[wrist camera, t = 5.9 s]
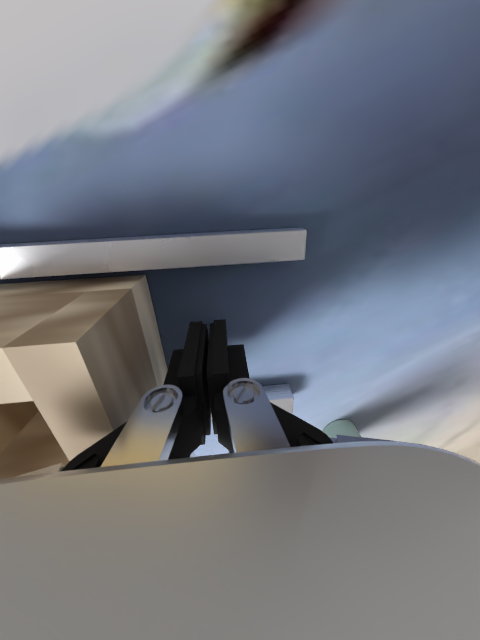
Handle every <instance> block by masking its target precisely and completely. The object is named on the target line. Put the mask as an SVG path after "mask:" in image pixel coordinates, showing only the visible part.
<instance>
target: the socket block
mask: <svg viewBox="0 0 480 640" xmlns="http://www.w3.org/2000/svg"><path fill="white" fill-rule="evenodd" d="M167 371H168V369H167V365H166V360H165V356H164V352H163V347H162V343H161V339H160V334H159V330H158V326H157V321H156V317H155V313H154V308H153V304H152V300H151V295H150V291H149V287H148V282H147V278H146V275H132V276H117V277H101V278H86V279H71V280H55V281H40V282H24V283H9V284H0V479H5V478H12V477H16V476H19V475H22V474H26V473H29V472H33V471H36V470H39V469H43V468H46V467H49V466H53V465H56V464H59V463H62V464H63V466H66V465H67V464H68V463H69V461H71V460H72V459H73V458H74V457H76V456H77V455H78V454H80V453H81V452H83V451H84V450H85V449H87V448H88V447H90V446H91V445H93V444H94V443H96V442H97V441H99V440H100V439H102V438H103V437H105V436H106V435H108V434H109V433H111V432H112V431H114V430H115V429H116V428H118V427H119V426H121V425H122V424H124V423H125V422H127V421H128V419H129V418H130V416H131V414H132V413H133V411H134V409H135V408H136V406H137V404H138V403H139V401H140V399H141V398H142V397H143V395H144V394H145V393H147V392H148V391H149V390H151V389H153V388H155V387H157V386H161V385H163V384H164V381H165V377H166V374H167Z"/></svg>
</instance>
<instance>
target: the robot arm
mask: <svg viewBox="0 0 480 640" xmlns="http://www.w3.org/2000/svg"><path fill="white" fill-rule="evenodd" d="M211 414H212V422H213V429H214V434H218V441H219V443H220V444H222V445H223V446H224V447H225V448H227V449H228V450H229V453H228V454H219V455H209V456H199V457H194V450H195V449H197V448H198V447H199V446H200V445H203V444H205V435H210V430H211ZM0 640H480V463H478V462H476V461H474V460H472V459H470V458H467V457H464V456H462V455H459V454H456V453H453V452H450V451H447V450H443V449H439V448H435V447H430V446H426V445H422V444H415V443H407V442H398V441H390V440H381V439H372V438H363V437H354V436H345V435H336V438H331V437H328V435H327V434H325V433H324V432H322V431H321V430H319V429H318V428H316V427H314V426H312V425H310V424H309V423H307V422H305V421H303V420H302V419H300V418H298V417H296V416H294V415H293V414H291V413H289V412H287V411H285V410H284V409H282V408H280V407H278V406H277V405H275V404H273V403H271V402H270V401H269V399H268V397H267V395H266V393H265V390H264V388H263V387H262V385H261V384H260V383H259V382H257V381H256V380H253V379H249V373H248V368H247V362H246V356H245V351H244V345H230V346H227V334H226V321H225V320H214V323H213V324H210V330H209V339H208V330H207V324H203V323H202V321H200V322H190V325H189V329H188V334H187V338H186V342H185V346H184V349H179V350H174V351H173V354H172V358H171V361H170V364H169V367H168V371H167V374H166V377H165V381H164V384H163V385H161V386H157V387H155V388H153V389H151V390H149V391H148V392H147V393H145V394H144V395H143V397H142V398H141V399H140V401H139V403H138V404H137V406H136V408H135V409H134V411H133V413H132V414H131V416H130V418H129V419H128V421H127V422H125V423H124V424H122V425H121V426H119V427H118V428H116V429H115V430H114V431H112V432H111V433H109V434H108V435H106V436H105V437H103V438H102V439H100V440H99V441H97V442H96V443H94V444H93V445H91V446H90V447H88V448H87V449H85V450H84V451H83V452H81V453H80V454H78V455H77V456H76V457H74V458H73V459H72V460H71V461H69V463H68V464H67V465H66V466H63V464H62V463H59V464H56V465H53V466H49V467H46V468H43V469H39V470H36V471H33V472H29V473H26V474H22V475H19V476H16V477H12V478H5V479H0Z"/></svg>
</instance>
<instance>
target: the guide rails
mask: <svg viewBox="0 0 480 640" xmlns="http://www.w3.org/2000/svg"><path fill="white" fill-rule="evenodd" d="M306 235H307V230H305V229H302V228H298V227H297V228H279V229H261V230H244V231H226V232H208V233H190V234H173V235H155V236H137V237H120V238H102V239H84V240H67V241H49V242H31V243H13V244H0V279H12V278H28V277H43V276H59V275H74V274H90V273H106V272H121V271H137V270H153V269H168V268H184V267H200V266H215V265H231V264H247V263H262V262H278V261H294V260H305V248H306ZM262 387H263V388H264V390H265V393H266V395H267V397H268V399H269V401H270V402H271V403H273V404H275V405H277V406H278V407H280V408H282V409H284V410H285V411H287V412H289V413H293V400H294V397H293V395H292V392H291V390H290V387H289V384H281V385H270V386H262ZM211 421H212V414H211Z"/></svg>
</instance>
